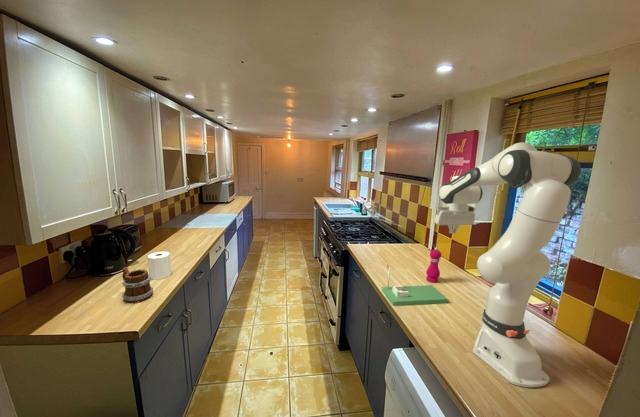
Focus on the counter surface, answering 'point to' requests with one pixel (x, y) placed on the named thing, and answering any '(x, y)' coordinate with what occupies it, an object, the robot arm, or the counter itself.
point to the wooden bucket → (136, 285)
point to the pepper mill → (433, 266)
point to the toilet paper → (159, 265)
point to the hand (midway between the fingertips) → (452, 233)
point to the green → (412, 294)
